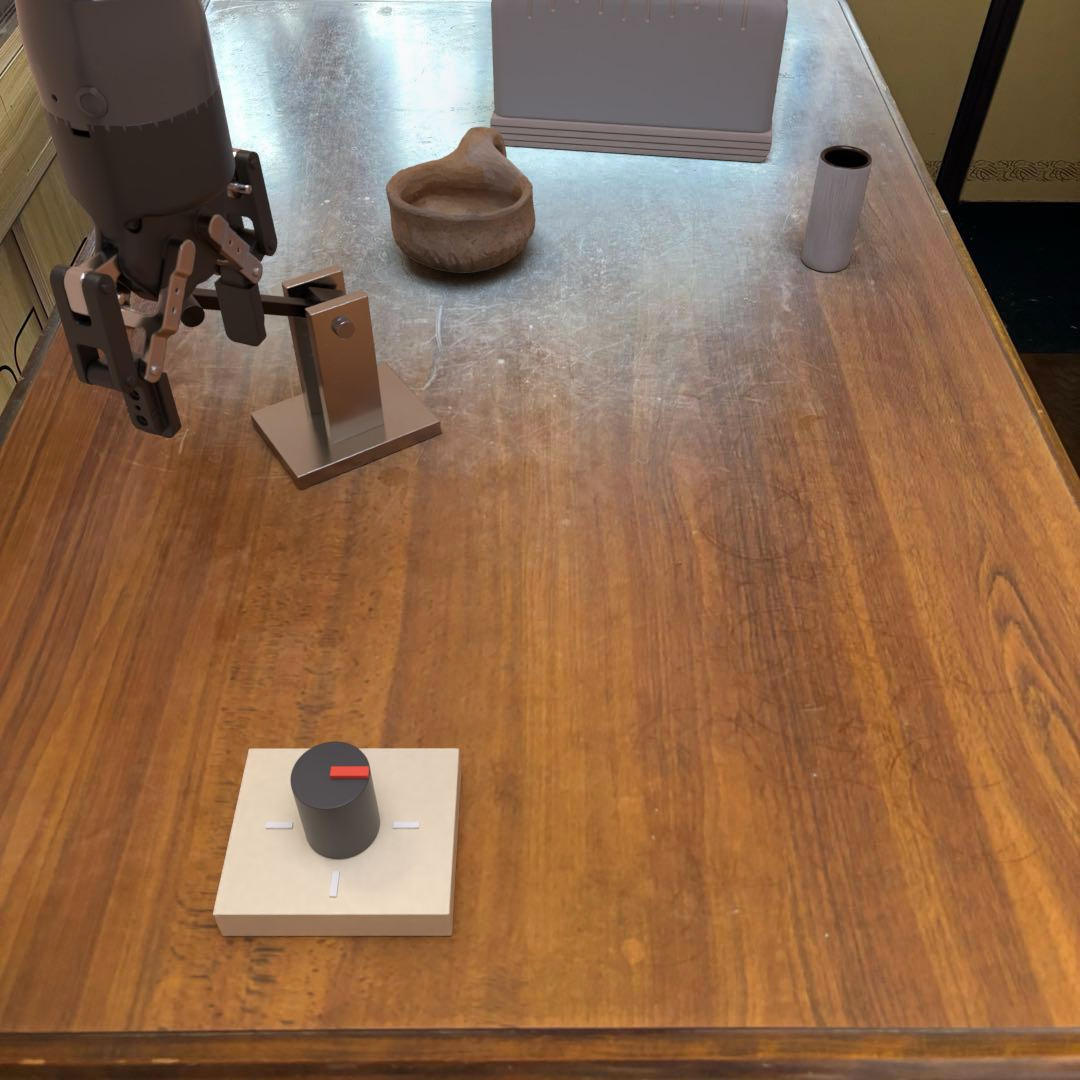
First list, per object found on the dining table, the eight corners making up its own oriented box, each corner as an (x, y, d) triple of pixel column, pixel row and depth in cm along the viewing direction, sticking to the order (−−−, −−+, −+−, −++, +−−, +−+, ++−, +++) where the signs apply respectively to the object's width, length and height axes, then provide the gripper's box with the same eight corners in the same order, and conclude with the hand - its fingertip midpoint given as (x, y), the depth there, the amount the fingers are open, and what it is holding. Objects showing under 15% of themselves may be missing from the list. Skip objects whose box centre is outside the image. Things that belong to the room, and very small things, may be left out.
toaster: (768, 35, 143) (791, -122, 130) (768, 163, 118) (795, -15, 105) (538, 22, 146) (537, -132, 133) (490, 145, 121) (484, -30, 108)
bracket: (300, 490, 82) (270, 347, 73) (252, 425, 87) (219, 284, 78) (441, 433, 86) (429, 292, 77) (388, 375, 92) (371, 236, 83)
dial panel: (222, 936, 57) (211, 913, 56) (256, 772, 65) (248, 746, 63) (452, 936, 58) (449, 912, 56) (461, 772, 65) (459, 746, 63)
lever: (177, 332, 70) (185, 298, 69) (148, 292, 73) (155, 259, 72) (357, 345, 79) (366, 315, 78) (324, 308, 82) (332, 279, 81)
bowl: (386, 185, 112) (406, 91, 105) (520, 221, 114) (547, 131, 108) (366, 279, 99) (387, 178, 92) (517, 317, 102) (548, 221, 95)
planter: (792, 262, 104) (811, 159, 97) (813, 242, 107) (833, 140, 99) (836, 278, 102) (859, 173, 95) (857, 257, 105) (881, 153, 97)
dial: (299, 859, 58) (283, 805, 54) (311, 793, 61) (295, 737, 57) (376, 859, 58) (364, 805, 54) (383, 793, 61) (373, 737, 57)
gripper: (150, 14, 53) (216, 302, 65) (-57, 135, 44) (64, 448, 55) (287, 35, 52) (330, 328, 63) (102, 166, 42) (193, 483, 54)
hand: (206, 384), depth 59 cm, fingers open, 8 cm apart
